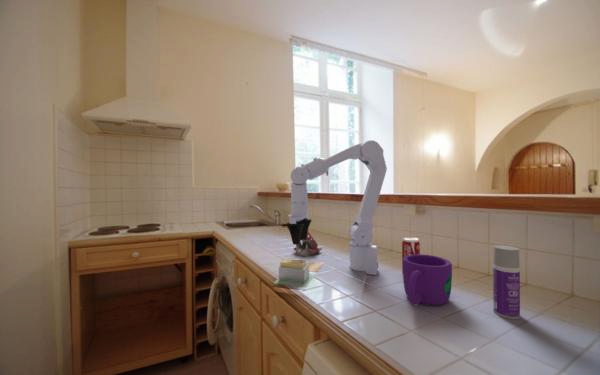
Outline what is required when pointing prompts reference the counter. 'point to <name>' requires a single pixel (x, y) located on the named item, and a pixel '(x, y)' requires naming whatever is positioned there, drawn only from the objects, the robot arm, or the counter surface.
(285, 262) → the cover
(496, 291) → the container
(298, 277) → the base
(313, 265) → the stand
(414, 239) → the soda can
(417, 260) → the mug
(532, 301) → the counter surface
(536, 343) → the counter surface
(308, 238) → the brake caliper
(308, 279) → the stand
